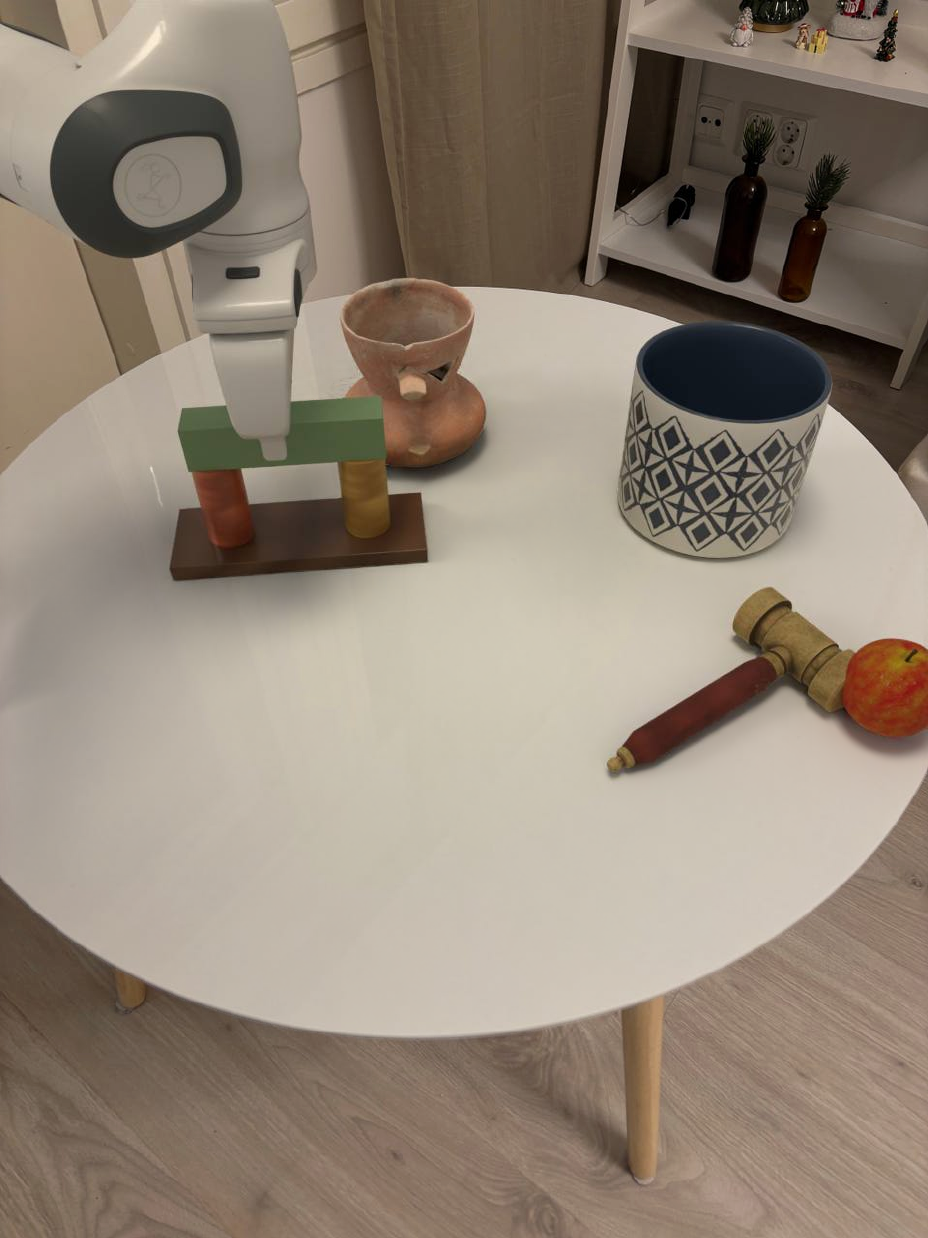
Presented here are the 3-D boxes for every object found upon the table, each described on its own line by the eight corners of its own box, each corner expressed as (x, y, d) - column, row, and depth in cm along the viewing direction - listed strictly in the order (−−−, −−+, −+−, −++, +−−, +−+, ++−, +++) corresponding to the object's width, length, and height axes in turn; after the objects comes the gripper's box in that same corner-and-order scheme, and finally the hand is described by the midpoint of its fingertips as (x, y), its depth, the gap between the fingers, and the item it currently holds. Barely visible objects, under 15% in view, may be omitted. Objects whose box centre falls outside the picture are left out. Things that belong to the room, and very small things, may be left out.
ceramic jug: (493, 487, 89) (496, 353, 79) (341, 495, 89) (324, 361, 78) (477, 384, 102) (477, 257, 92) (343, 391, 101) (329, 263, 91)
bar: (188, 472, 76) (177, 430, 73) (192, 449, 78) (181, 407, 75) (386, 459, 77) (383, 417, 74) (384, 436, 79) (381, 395, 76)
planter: (805, 478, 90) (848, 342, 79) (769, 583, 80) (813, 443, 69) (645, 439, 94) (666, 305, 84) (593, 533, 84) (609, 394, 74)
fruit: (823, 678, 72) (853, 605, 67) (916, 687, 72) (955, 614, 66) (835, 751, 68) (869, 679, 62) (935, 761, 67) (979, 690, 61)
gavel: (659, 802, 61) (565, 702, 67) (652, 836, 64) (564, 738, 70) (880, 656, 68) (778, 576, 74) (864, 694, 71) (768, 615, 77)
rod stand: (173, 581, 81) (145, 493, 74) (183, 521, 86) (158, 434, 79) (427, 562, 82) (423, 474, 75) (421, 504, 88) (417, 418, 81)
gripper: (216, 192, 72) (246, 355, 82) (189, 323, 58) (229, 501, 67) (299, 189, 72) (318, 351, 82) (293, 318, 58) (317, 495, 68)
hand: (278, 420), depth 75 cm, fingers open, 8 cm apart
